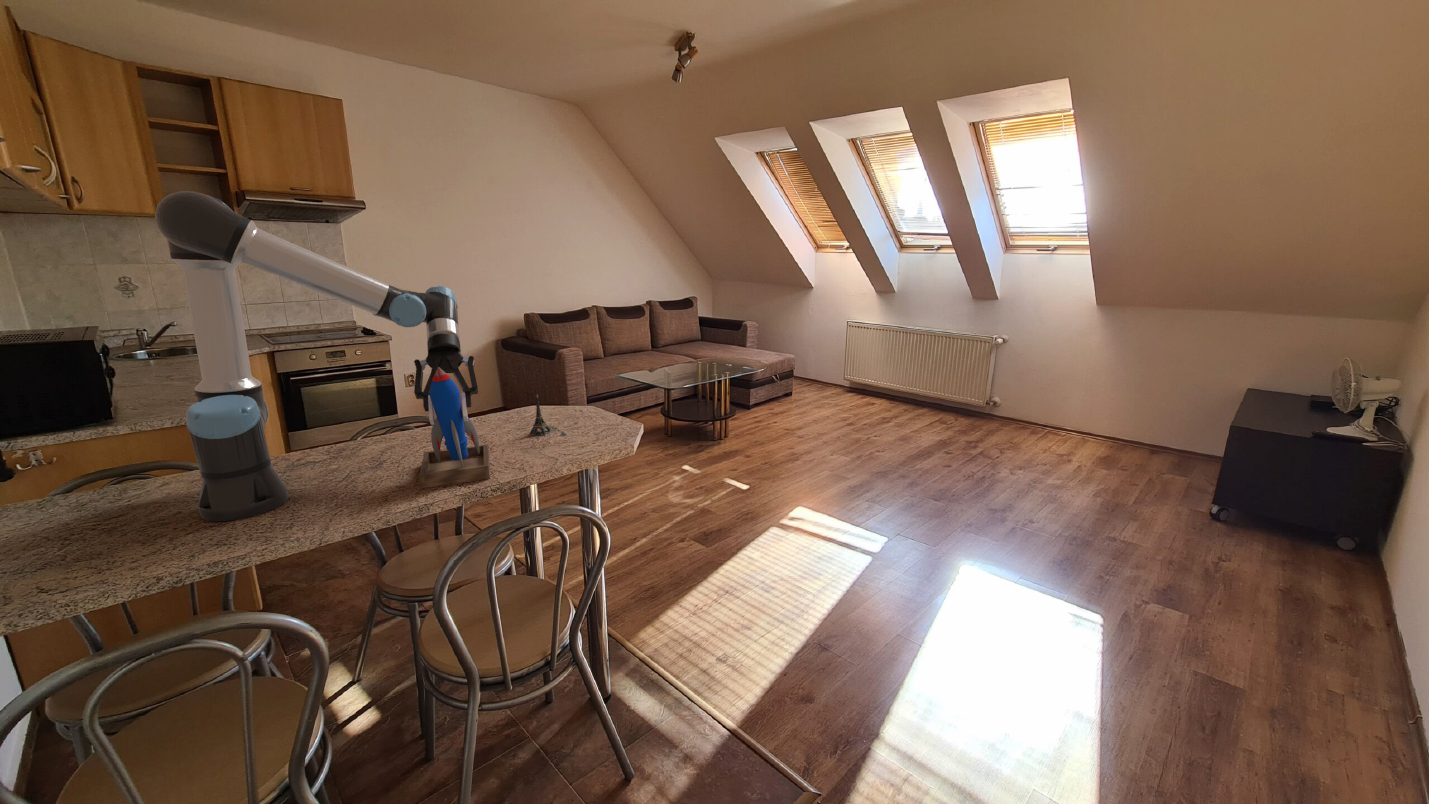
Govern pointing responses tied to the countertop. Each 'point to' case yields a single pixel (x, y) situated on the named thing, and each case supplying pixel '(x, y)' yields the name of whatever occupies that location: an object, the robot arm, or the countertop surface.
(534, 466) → the countertop surface
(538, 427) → the eiffel tower figurine
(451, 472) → the cradle
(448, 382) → the toy rocket
